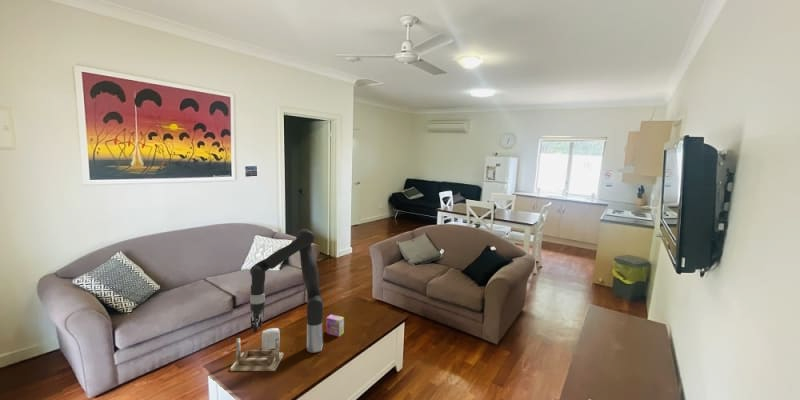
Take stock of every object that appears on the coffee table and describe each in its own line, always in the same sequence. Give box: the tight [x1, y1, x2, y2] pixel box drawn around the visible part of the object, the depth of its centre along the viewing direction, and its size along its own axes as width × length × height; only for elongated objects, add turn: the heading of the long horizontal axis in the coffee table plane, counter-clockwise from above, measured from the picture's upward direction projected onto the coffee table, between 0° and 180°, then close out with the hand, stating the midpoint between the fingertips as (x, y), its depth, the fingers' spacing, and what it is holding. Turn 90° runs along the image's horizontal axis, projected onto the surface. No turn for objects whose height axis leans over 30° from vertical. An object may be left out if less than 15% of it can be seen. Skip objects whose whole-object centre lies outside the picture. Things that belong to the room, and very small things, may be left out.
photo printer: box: [261, 327, 281, 350], centre depth 200 cm, size 10×4×12 cm, turn 116°
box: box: [325, 314, 345, 338], centre depth 219 cm, size 10×6×12 cm, turn 68°
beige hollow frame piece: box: [230, 337, 284, 372], centre depth 185 cm, size 24×15×14 cm, turn 93°
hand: (257, 329), depth 183 cm, fingers open, 5 cm apart
